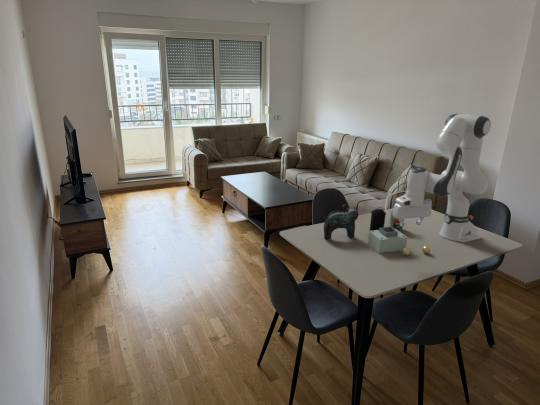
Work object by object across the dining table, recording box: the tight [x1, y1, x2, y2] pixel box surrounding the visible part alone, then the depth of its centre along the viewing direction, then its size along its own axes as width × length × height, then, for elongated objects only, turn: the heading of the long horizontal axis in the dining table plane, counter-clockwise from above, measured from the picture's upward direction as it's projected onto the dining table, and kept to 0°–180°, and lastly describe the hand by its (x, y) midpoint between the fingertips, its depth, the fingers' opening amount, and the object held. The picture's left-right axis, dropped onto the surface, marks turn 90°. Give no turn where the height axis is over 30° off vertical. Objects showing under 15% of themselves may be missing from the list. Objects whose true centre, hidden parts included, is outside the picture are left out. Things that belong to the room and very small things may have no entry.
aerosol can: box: [367, 204, 387, 238], centre depth 214 cm, size 8×8×20 cm
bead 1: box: [401, 247, 411, 257], centre depth 197 cm, size 4×4×4 cm
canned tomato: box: [388, 210, 405, 232], centre depth 229 cm, size 8×8×11 cm
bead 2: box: [421, 245, 431, 255], centre depth 199 cm, size 4×4×4 cm
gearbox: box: [367, 226, 408, 254], centre depth 205 cm, size 16×12×10 cm
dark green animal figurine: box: [323, 204, 359, 241], centre depth 214 cm, size 20×6×20 cm, turn 104°
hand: (410, 225), depth 192 cm, fingers open, 8 cm apart
